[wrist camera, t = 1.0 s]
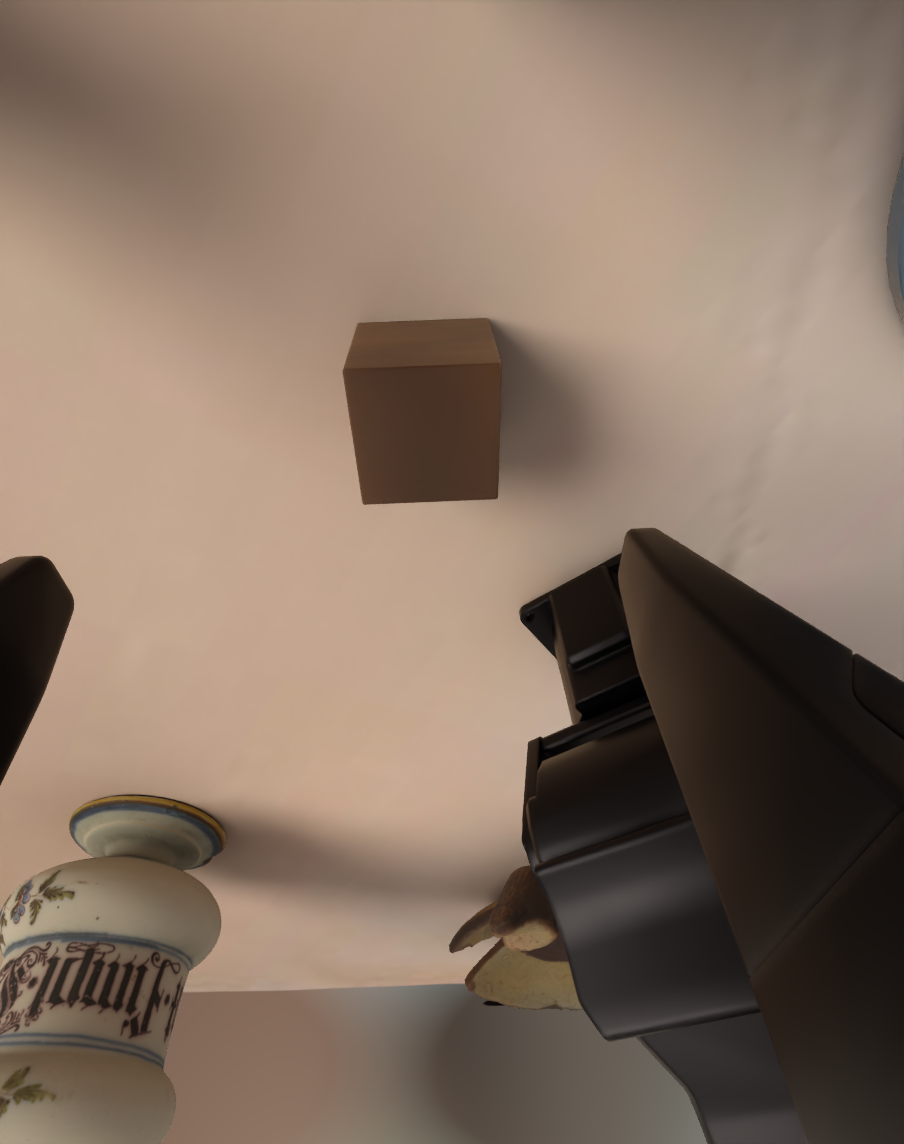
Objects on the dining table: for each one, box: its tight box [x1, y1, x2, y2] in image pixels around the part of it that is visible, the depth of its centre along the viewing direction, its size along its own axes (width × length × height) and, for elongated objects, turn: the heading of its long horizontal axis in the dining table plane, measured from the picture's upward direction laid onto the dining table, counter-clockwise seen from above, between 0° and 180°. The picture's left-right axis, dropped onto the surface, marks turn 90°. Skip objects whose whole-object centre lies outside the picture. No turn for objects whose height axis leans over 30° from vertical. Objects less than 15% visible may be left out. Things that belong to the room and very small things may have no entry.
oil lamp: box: [449, 866, 583, 1010], centre depth 44 cm, size 22×30×8 cm
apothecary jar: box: [0, 796, 226, 1144], centre depth 31 cm, size 12×12×18 cm
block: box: [343, 318, 502, 505], centre depth 18 cm, size 4×4×4 cm
